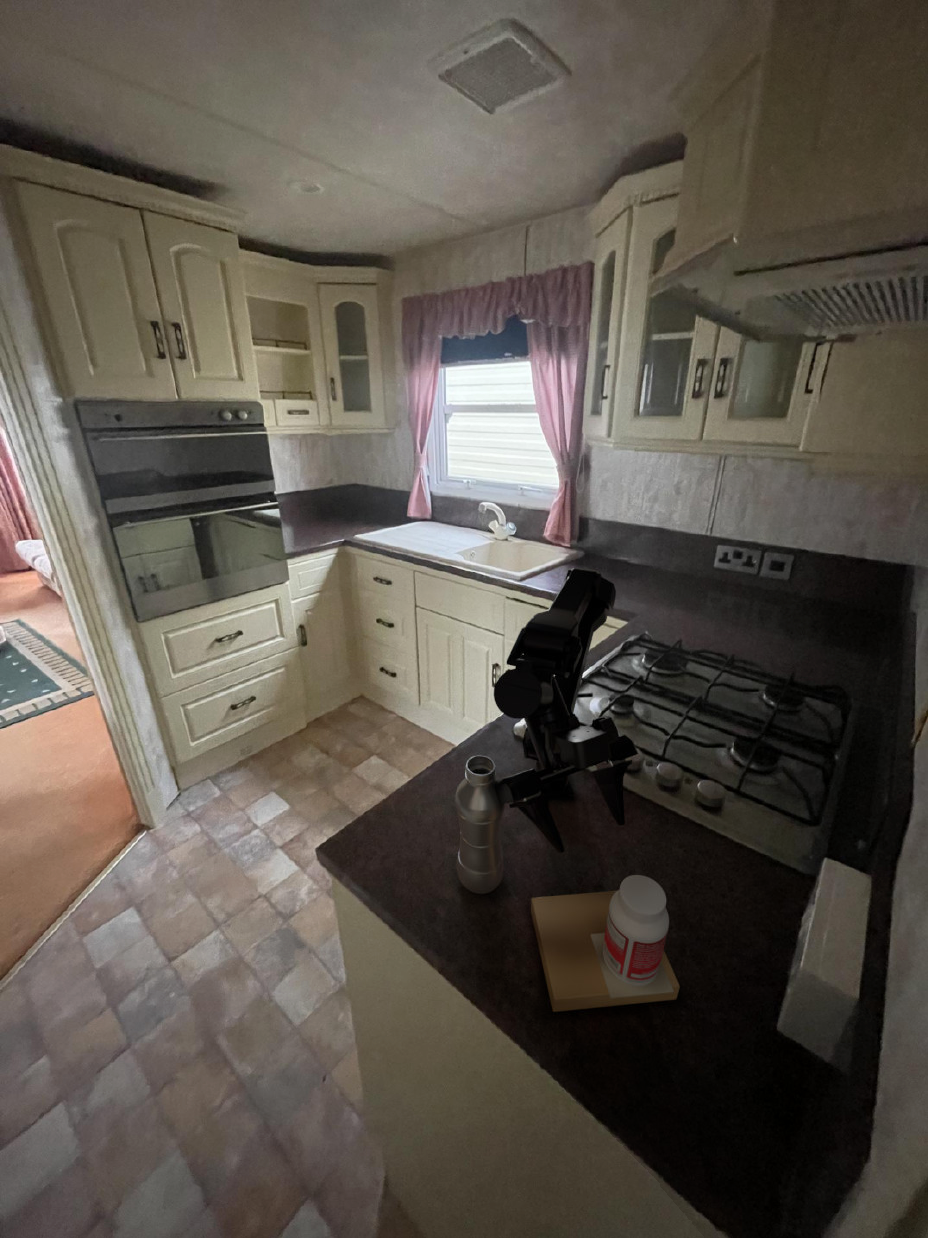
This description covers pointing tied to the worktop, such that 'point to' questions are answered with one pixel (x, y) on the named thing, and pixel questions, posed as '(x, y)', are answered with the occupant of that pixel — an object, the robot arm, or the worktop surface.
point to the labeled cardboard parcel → (587, 955)
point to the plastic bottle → (479, 827)
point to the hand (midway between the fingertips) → (592, 838)
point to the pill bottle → (636, 930)
